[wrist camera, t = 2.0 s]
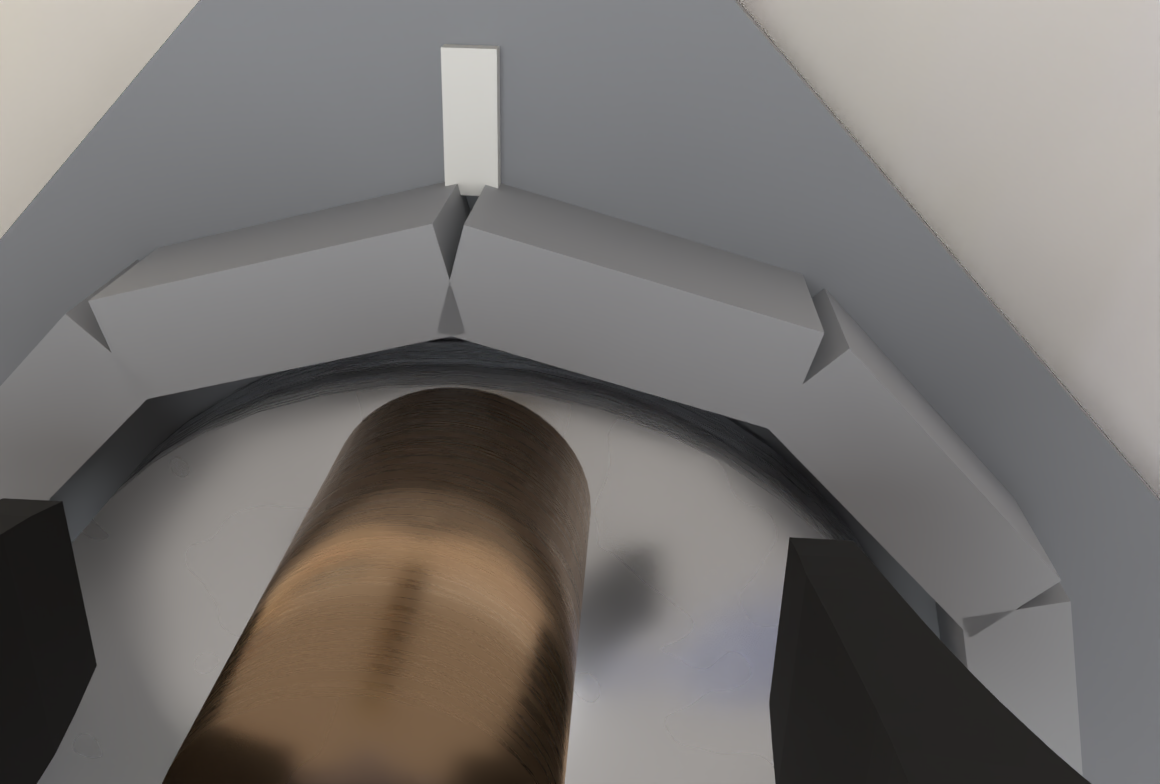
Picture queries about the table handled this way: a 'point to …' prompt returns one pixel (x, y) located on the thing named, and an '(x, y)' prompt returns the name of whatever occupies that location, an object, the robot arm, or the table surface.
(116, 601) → the dial
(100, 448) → the dial plate
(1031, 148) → the table surface
